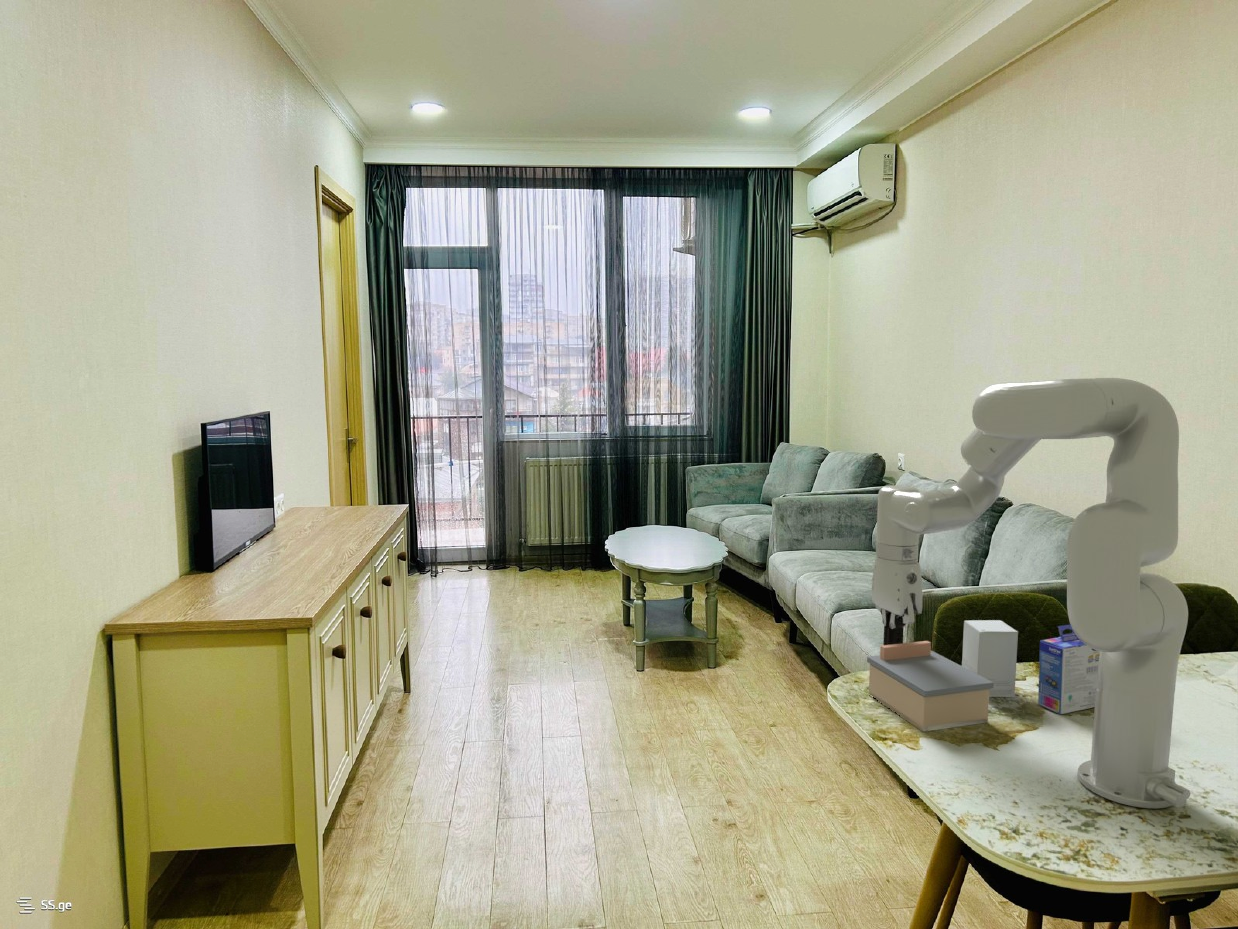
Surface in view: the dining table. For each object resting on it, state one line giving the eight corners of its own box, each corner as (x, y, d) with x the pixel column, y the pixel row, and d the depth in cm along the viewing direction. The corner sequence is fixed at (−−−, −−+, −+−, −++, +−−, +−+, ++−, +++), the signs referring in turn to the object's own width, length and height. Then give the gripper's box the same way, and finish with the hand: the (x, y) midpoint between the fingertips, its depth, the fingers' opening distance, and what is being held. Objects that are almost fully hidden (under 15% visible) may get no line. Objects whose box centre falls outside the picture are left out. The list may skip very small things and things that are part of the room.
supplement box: (1015, 698, 153) (1019, 631, 151) (975, 697, 153) (978, 631, 151) (998, 682, 160) (1002, 619, 158) (959, 682, 160) (963, 619, 158)
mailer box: (987, 722, 142) (989, 689, 141) (922, 731, 138) (924, 697, 138) (928, 687, 157) (929, 657, 157) (868, 695, 154) (869, 664, 153)
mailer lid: (993, 688, 141) (994, 669, 140) (925, 697, 137) (925, 677, 137) (929, 654, 157) (930, 637, 157) (867, 662, 153) (867, 644, 153)
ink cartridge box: (1074, 695, 154) (1079, 620, 152) (1101, 707, 148) (1106, 629, 147) (1034, 703, 150) (1039, 626, 148) (1060, 715, 145) (1066, 635, 143)
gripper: (939, 559, 149) (935, 657, 151) (890, 542, 163) (887, 632, 165) (903, 562, 146) (899, 662, 149) (857, 544, 161) (853, 636, 163)
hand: (893, 646), depth 157 cm, fingers closed
